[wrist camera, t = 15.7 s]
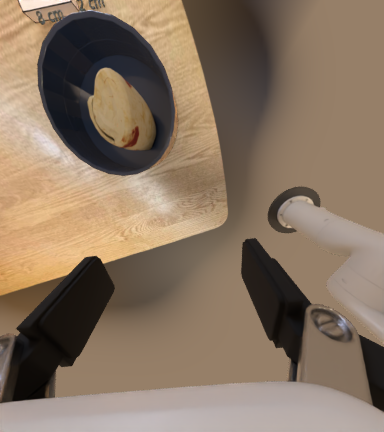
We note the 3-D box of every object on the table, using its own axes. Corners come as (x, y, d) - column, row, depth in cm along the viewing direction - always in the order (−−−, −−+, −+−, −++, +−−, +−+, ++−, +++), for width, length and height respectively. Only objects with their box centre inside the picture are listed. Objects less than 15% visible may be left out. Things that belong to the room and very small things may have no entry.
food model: (160, 151, 38) (136, 151, 20) (135, 149, 38) (88, 148, 20) (159, 107, 34) (128, 58, 16) (131, 104, 34) (67, 51, 15)
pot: (167, 44, 30) (159, -2, 21) (184, 164, 40) (183, 167, 31) (58, 61, 30) (3, 24, 21) (102, 175, 41) (78, 181, 32)
